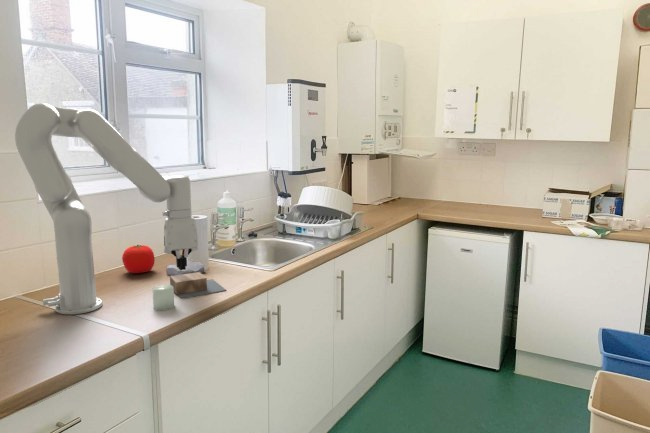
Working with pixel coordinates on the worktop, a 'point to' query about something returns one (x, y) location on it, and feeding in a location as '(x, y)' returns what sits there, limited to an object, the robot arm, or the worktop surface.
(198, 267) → the stone block
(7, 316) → the worktop surface
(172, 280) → the brown wooden block
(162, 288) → the rounded cube
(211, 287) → the mat
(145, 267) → the tomato
